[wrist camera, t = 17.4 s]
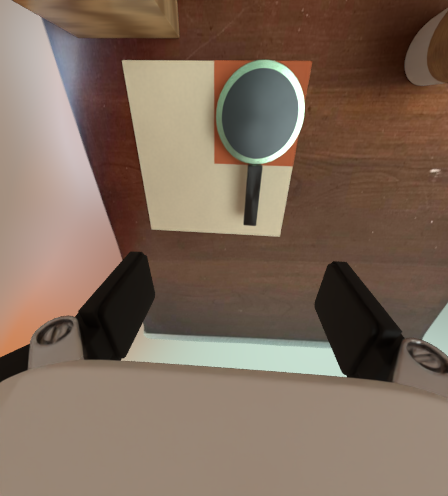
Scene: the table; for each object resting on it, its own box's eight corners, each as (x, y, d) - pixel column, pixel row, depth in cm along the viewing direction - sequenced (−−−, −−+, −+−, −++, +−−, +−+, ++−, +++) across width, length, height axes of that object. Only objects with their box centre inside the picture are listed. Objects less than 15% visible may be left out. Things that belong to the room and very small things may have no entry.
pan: (280, 217, 32) (285, 227, 28) (217, 214, 32) (214, 224, 29) (306, 67, 23) (318, 56, 19) (218, 66, 23) (214, 55, 20)
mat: (152, 228, 35) (151, 229, 35) (123, 61, 24) (120, 59, 23) (279, 235, 34) (279, 236, 33) (310, 62, 23) (312, 61, 22)
